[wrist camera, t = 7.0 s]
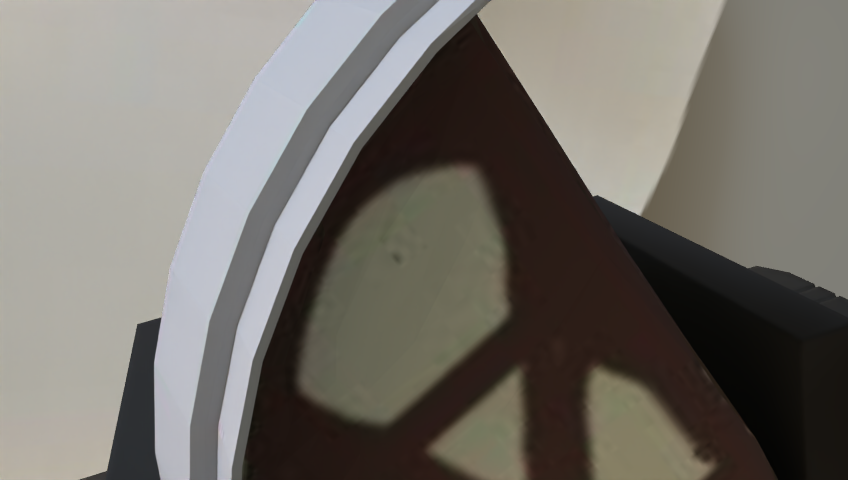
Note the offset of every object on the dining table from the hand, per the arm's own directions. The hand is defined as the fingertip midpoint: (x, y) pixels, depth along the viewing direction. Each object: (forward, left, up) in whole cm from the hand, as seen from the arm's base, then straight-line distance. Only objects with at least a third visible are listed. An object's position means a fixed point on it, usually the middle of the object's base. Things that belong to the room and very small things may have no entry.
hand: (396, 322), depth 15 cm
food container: (-1, 0, -2) cm, 3 cm away
